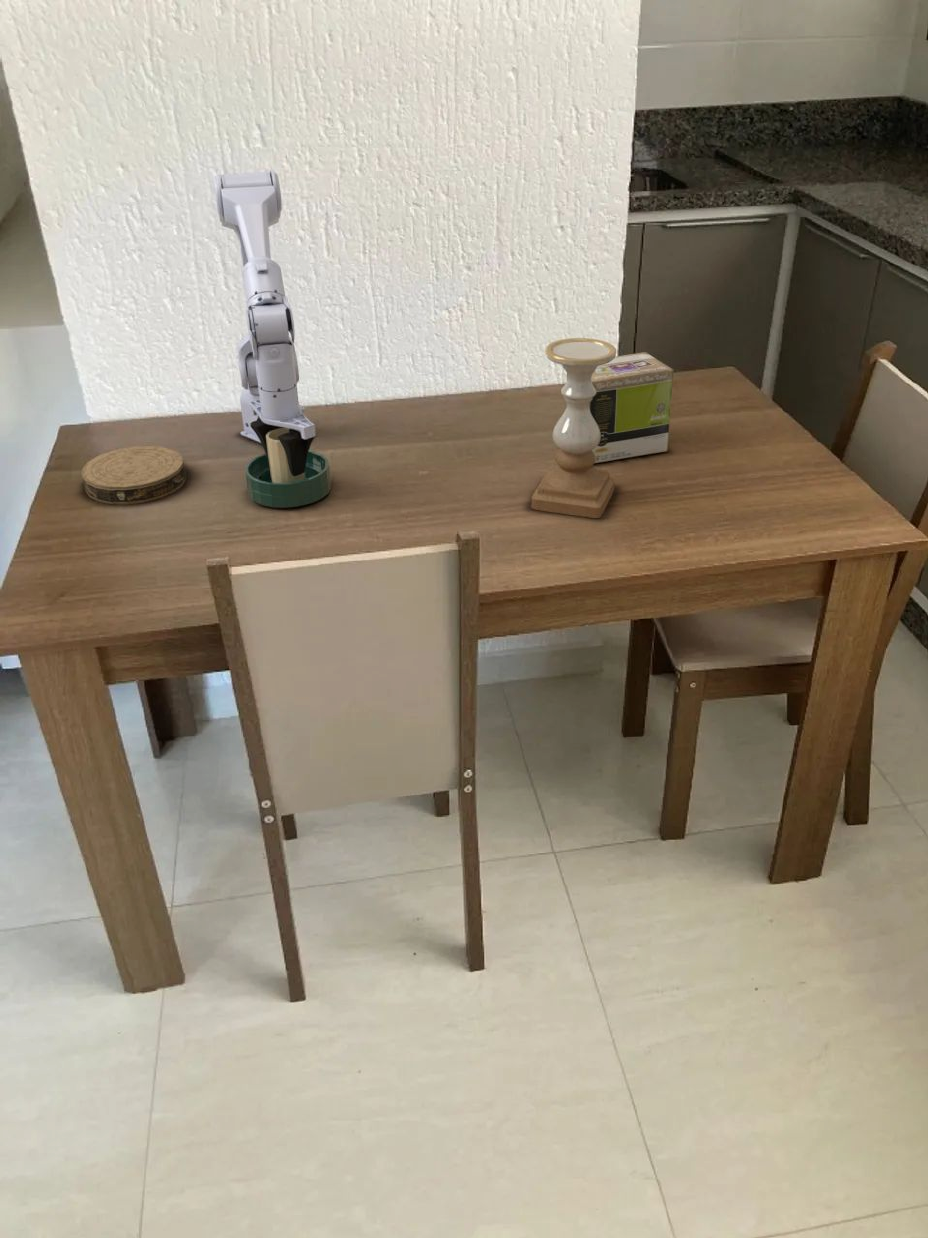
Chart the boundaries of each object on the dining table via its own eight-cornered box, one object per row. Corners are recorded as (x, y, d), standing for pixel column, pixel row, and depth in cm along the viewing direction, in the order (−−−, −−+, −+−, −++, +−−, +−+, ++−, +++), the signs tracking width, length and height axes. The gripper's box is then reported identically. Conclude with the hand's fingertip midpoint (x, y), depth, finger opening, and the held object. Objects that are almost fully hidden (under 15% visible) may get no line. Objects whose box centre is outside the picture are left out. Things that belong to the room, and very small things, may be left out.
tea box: (641, 431, 181) (648, 349, 173) (667, 453, 173) (676, 368, 165) (562, 443, 177) (566, 360, 169) (586, 466, 169) (591, 380, 161)
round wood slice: (96, 464, 172) (92, 448, 171) (191, 459, 174) (188, 443, 172) (75, 507, 159) (71, 490, 158) (179, 501, 160) (176, 484, 159)
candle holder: (615, 488, 162) (626, 340, 149) (599, 519, 153) (610, 364, 140) (548, 479, 165) (553, 333, 152) (529, 509, 157) (533, 356, 143)
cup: (265, 478, 162) (259, 434, 158) (292, 468, 165) (287, 424, 161) (284, 489, 158) (279, 444, 154) (312, 478, 161) (307, 434, 157)
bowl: (232, 494, 162) (228, 468, 160) (294, 467, 170) (291, 442, 168) (285, 518, 155) (281, 491, 153) (347, 489, 163) (345, 463, 161)
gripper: (328, 390, 151) (336, 474, 158) (271, 367, 160) (281, 447, 167) (289, 403, 147) (299, 488, 154) (233, 378, 156) (245, 460, 163)
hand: (287, 468), depth 161 cm, fingers closed on cup, 5 cm apart
